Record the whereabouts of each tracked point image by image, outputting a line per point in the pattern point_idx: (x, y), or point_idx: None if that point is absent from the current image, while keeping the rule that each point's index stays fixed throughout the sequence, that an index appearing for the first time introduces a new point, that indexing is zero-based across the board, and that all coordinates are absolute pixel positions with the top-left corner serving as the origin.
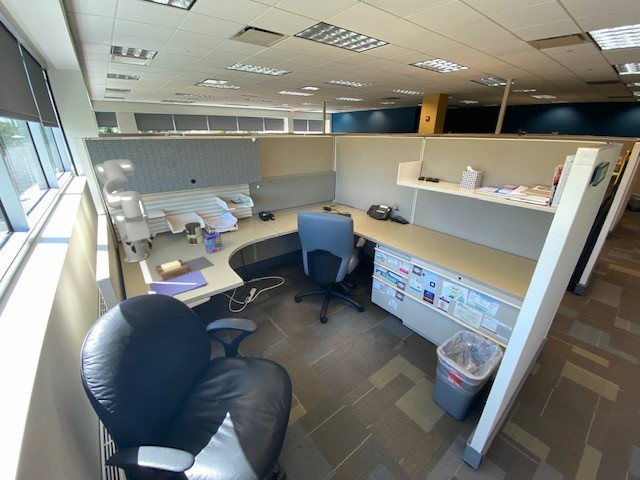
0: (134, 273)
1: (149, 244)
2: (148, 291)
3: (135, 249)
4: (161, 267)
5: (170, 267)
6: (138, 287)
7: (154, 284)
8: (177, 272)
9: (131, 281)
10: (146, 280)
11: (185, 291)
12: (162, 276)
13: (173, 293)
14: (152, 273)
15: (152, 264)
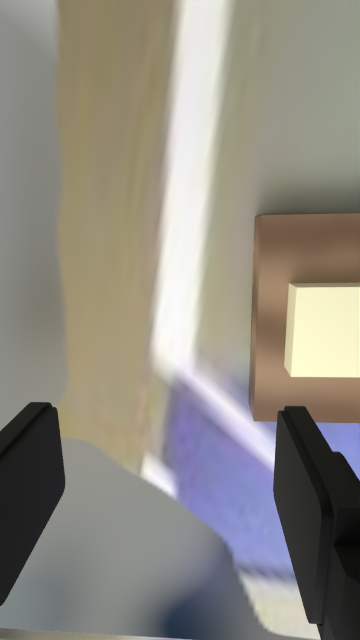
0: (114, 142)
1: (306, 587)
2: (145, 459)
3: (36, 542)
4: (290, 292)
5: (341, 375)
6: (107, 379)
7: (190, 406)
8: (351, 419)
9: (81, 268)
10: (163, 321)
11: (295, 579)
12: (252, 394)
13: (242, 558)
14: (219, 239)
15: (266, 47)
